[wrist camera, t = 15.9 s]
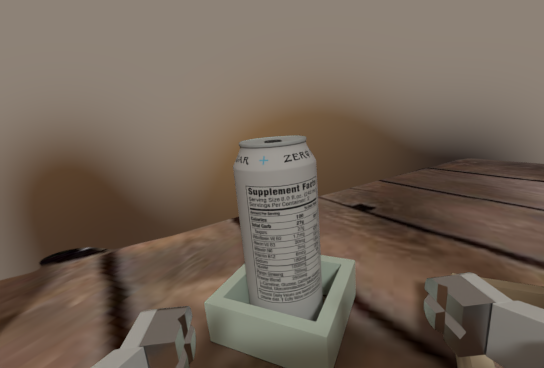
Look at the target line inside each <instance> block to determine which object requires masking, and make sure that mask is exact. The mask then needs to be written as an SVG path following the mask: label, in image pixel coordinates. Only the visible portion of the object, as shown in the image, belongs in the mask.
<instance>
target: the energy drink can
mask: <svg viewBox="0 0 544 368" xmlns="http://www.w3.org/2000/svg"><path fill="white" fill-rule="evenodd" d="M239 146H240V151H239V154H238V156H237V159H236V161H235V164H234V166H233V169H234V178H235V186H236V194H237V202H238V210H239V219H240V227H241V235H242V243H243V251H244V259H245V267H246V276H247V284H248V292H249V300H250V305H254V306H258V307H262V308H265V309H269V310H273V311H277V312H281V313H284V314H288V315H292V316H296V317H299V318H303V319H307V320H311V321H315V322H316V321H317V319H318V316H319V314H320V312H321V309H322V307H323V295H322V274H321V253H320V233H319V212H318V191H317V171H316V160H315V158H314V156H313V154H312V153H311V151H310V150H309V148H308V146H307V145H306V137H305V136H279V137H278V136H277V137H266V138H258V139H251V140H245V141H241V142H239Z"/></svg>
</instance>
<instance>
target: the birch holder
mask: <svg viewBox="0 0 544 368" xmlns="http://www.w3.org/2000/svg"><path fill="white" fill-rule="evenodd" d="M451 275H455V273H451ZM480 278H481V279H483V280H484V281H486V282H487V283H489V284H490V285H491V286H493V287H494V288H496V289H497V290H499V291H500V292H501V293H503V294H504V295H506V296H507V297H508V298H510V299H511V300H513V301H521V302H524V303H527V304H530V305H533V306H536V307H539V308H542V309H544V287H542V286H535V285H529V284H522V283H515V282H509V281H502V280H495V279H489V278H482V277H480ZM455 355H456V354H455ZM456 361H457V367H458V368H495V366H494V362H493V360H491V359H490V358H488V357H486V355H478V356H468V357H458V356H457V355H456Z"/></svg>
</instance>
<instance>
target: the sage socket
mask: <svg viewBox="0 0 544 368" xmlns="http://www.w3.org/2000/svg"><path fill="white" fill-rule="evenodd" d="M321 274H322V294H323V295H328V296H327V298H326V300H325V303H324V305H323V307H322V309H321V312H320V314H319V316H318V319H317V321H316V322H315V321H311V320H307V319H303V318H299V317H296V316H292V315H288V314H284V313H281V312H277V311H273V310H269V309H265V308H262V307H258V306H254V305H250V300H249V292H248V284H247V276H246V267H245V264H244V265H243V266H241V267H240V268H239V269H238V270H237V271H236V272H235V273H234V274H233V275H232V276H231V277H230V278H229V279H228V280H227V281H226V282H225V283H224V284H223V285H222V286H221V287H220V288H219V289H218V290H217V291H216V292H215V293H213V294H212V295H211V296H210V297H209V298H208V299H207V300H206V301H205V302H204V305H205V311H206V316H207V322H208V328H209V334H210V340H211V341H212V342H215V343H218V344H220V345H223V346H226V347H229V348H232V349H234V350H237V351H240V352H243V353H246V354H248V355H251V356H254V357H257V358H260V359H262V360H265V361H268V362H271V363H273V364H276V365H279V366H282V367H285V368H334V365H335V362H336V358H337V355H338V352H339V348H340V345H341V342H342V338H343V335H344V332H345V328H346V325H347V321H348V318H349V315H350V311H351V308H352V305H353V301H354V298H355V295H356V289H355V260H350V259H343V258H337V257H330V256H324V255H321Z"/></svg>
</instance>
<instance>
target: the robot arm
mask: <svg viewBox="0 0 544 368" xmlns="http://www.w3.org/2000/svg"><path fill="white" fill-rule="evenodd" d="M425 290H426V291H427V293H428V296H427V297H426V298H425V300H424V311H425V315H426V318H427V320H428V321H429V323H430V325H431V326H432V327H433V328H434V329H435V330H436V331H438V332H440V333H442V334H444V341H445V342H446V344H447V345H448V346H449V347H450V348H451V349H452V350H453V352H454V353H455V354H456V355H457V356H458V357H468V356H478V355H486V357H488V358H490V359H491V360H493V361H495V362H496V363H498V364H499V365H501V366H503V367H504V368H544V309H542V308H539V307H536V306H533V305H530V304H527V303H524V302H521V301H513V300H511V299H510V298H508V297H507V296H506V295H504V294H503V293H501V292H500V291H499V290H497V289H496V288H494V287H493V286H491V285H490V284H489V283H487V282H486V281H484V280H483V279H481V278H480V277H479V276H477V275H476V274H474V273H470V272H468V273H461V274H455V275H450V276H442V277H434V278H427V280H426V282H425ZM191 320H192V313H191V308H190V307H189V306H183V307H172V308H162V309H153V310H144V311H142V312H141V313H140V314H139V316H138V318H137V319H136V321H135V323H134V325H133V326H132V328H131V330H130V332H129V333H128V335H127V337H126V339H125V340H124V342H123V344H122V346H121V347H120V349H118V350H114V351H112V352H111V353H110V354H108V355H107V356H106V357H104V358H103V359H102V360H100V361H99V362H98V363H96V364H95V365H94V366H92V367H91V368H189V364H190V363H191V362H192V361H193V360H194V355H195V348H196V335H195V329H194V327H193V326H192V325H190V323H191Z"/></svg>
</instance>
